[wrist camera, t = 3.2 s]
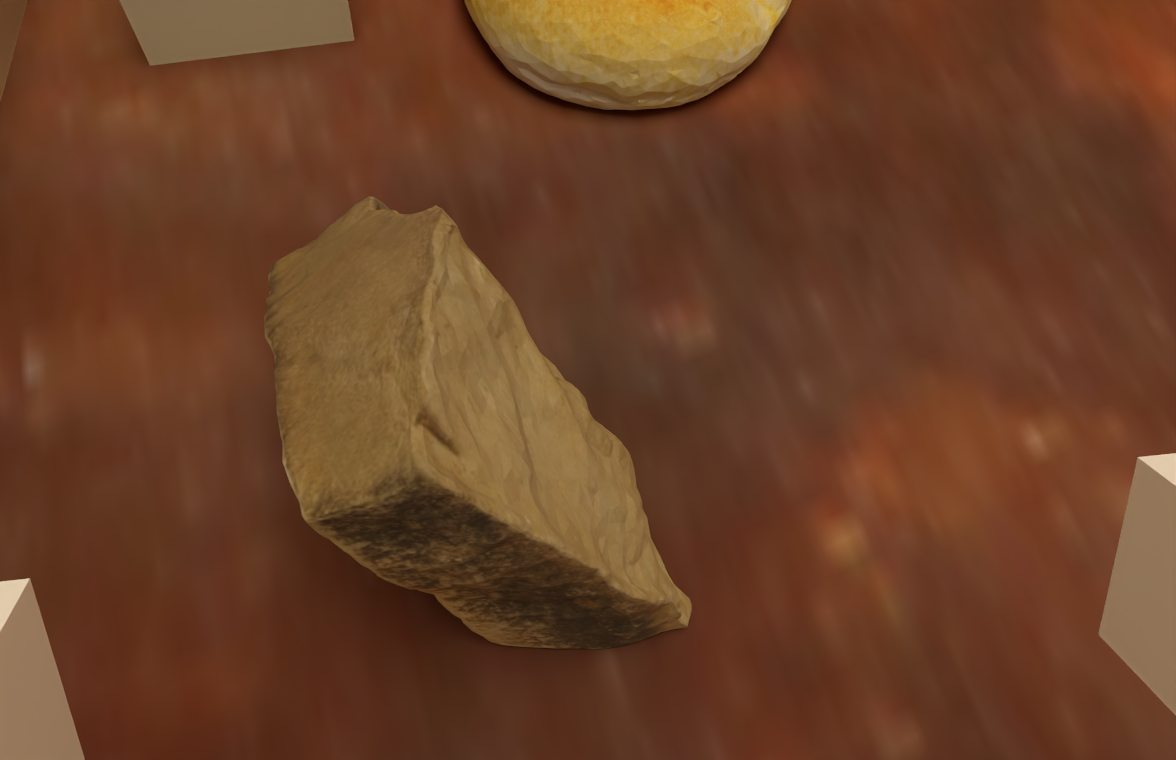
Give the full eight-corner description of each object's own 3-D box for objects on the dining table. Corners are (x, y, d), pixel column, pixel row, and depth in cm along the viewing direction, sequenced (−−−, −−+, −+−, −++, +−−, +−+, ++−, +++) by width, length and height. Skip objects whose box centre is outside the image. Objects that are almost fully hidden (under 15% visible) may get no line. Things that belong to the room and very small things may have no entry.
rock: (158, 179, 22) (93, 652, 17) (377, -97, 17) (368, 483, 12) (548, 327, 29) (576, 697, 24) (794, 165, 23) (890, 600, 19)
